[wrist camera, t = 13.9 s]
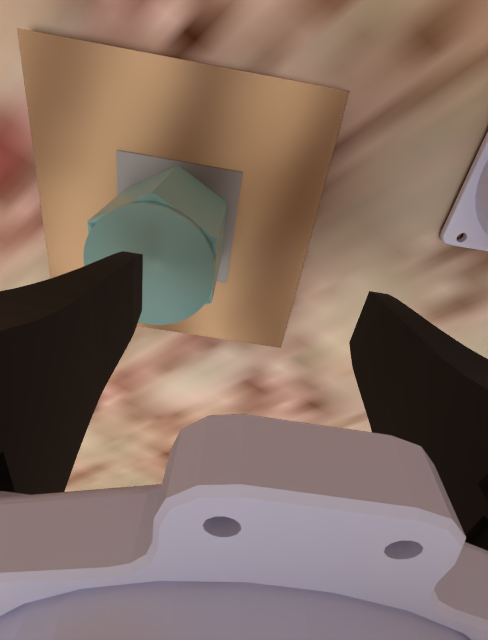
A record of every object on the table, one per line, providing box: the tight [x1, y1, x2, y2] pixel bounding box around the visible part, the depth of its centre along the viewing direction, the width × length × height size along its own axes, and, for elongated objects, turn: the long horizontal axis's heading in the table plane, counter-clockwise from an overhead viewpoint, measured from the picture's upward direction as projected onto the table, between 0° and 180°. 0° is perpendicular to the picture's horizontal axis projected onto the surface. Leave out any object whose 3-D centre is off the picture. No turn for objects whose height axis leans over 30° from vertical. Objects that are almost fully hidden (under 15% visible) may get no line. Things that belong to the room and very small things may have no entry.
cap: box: [83, 165, 227, 325], centre depth 17 cm, size 5×6×6 cm
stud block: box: [17, 28, 349, 348], centre depth 19 cm, size 14×14×5 cm
